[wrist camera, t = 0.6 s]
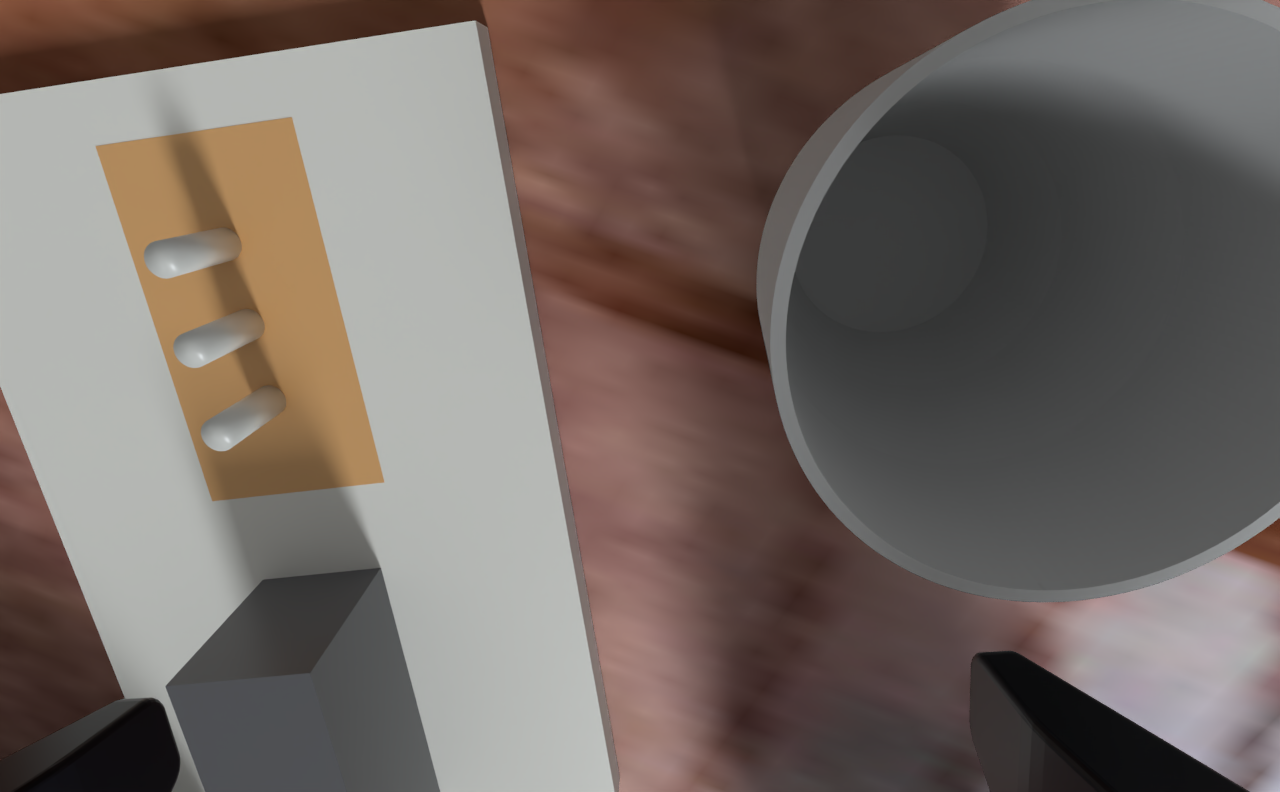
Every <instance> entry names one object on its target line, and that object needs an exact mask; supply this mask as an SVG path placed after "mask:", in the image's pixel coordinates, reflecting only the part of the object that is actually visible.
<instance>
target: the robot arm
mask: <svg viewBox="0 0 1280 792" xmlns="http://www.w3.org/2000/svg"><path fill="white" fill-rule="evenodd" d="M970 729H971V734H972V738H973V742H974V745H975V748H976V751H977V754H978V757H979V760H980V763H981V766H982V769H983V772H984V775H985V778H986V781H987V784H988V786H989V789H990V792H1249V791H1248V790H1246V789H1244V788H1243V787H1241V786H1239V785H1238V784H1236V783H1234V782H1233V781H1231V780H1229V779H1228V778H1226V777H1224V776H1223V775H1221V774H1219V773H1218V772H1216V771H1214V770H1213V769H1211V768H1209V767H1208V766H1206V765H1204V764H1203V763H1201V762H1199V761H1198V760H1196V759H1194V758H1193V757H1191V756H1189V755H1188V754H1186V753H1184V752H1183V751H1181V750H1179V749H1178V748H1176V747H1174V746H1173V745H1171V744H1169V743H1168V742H1166V741H1164V740H1163V739H1161V738H1159V737H1158V736H1156V735H1154V734H1153V733H1151V732H1149V731H1148V730H1146V729H1144V728H1142V727H1141V726H1139V725H1137V724H1136V723H1134V722H1132V721H1131V720H1129V719H1127V718H1126V717H1124V716H1122V715H1121V714H1119V713H1117V712H1116V711H1114V710H1112V709H1111V708H1109V707H1107V706H1106V705H1104V704H1102V703H1101V702H1099V701H1097V700H1096V699H1094V698H1092V697H1091V696H1089V695H1087V694H1086V693H1084V692H1082V691H1081V690H1079V689H1077V688H1076V687H1074V686H1072V685H1071V684H1069V683H1067V682H1066V681H1064V680H1062V679H1061V678H1059V677H1057V676H1056V675H1054V674H1052V673H1051V672H1049V671H1047V670H1046V669H1044V668H1042V667H1041V666H1039V665H1037V664H1036V663H1034V662H1032V661H1031V660H1029V659H1027V658H1025V657H1024V656H1022V655H1020V654H1018V653H1016V652H1013V651H998V652H981V653H977V654H976V655H975V656H974V657H973V659H972V663H971V679H970ZM180 764H181V762H180V754H179V750H178V747H177V744H176V741H175V738H174V735H173V732H172V729H171V725H170V722H169V719H168V716H167V713H166V710H165V708H164V705H163V704H162V703H161V702H160V701H159V700H158V699H155V698H152V697H149V698H130V699H121V700H117V701H115V702H113V703H111V704H109V705H107V706H105V707H103V708H101V709H99V710H97V711H95V712H93V713H91V714H89V715H87V716H86V717H84V718H82V719H80V720H78V721H76V722H74V723H72V724H70V725H68V726H66V727H64V728H62V729H60V730H58V731H56V732H55V733H53V734H51V735H49V736H47V737H45V738H43V739H41V740H39V741H37V742H35V743H33V744H31V745H29V746H27V747H26V748H24V749H22V750H20V751H18V752H16V753H14V754H12V755H10V756H8V757H6V758H4V759H2V760H0V792H172V790H173V788H174V786H175V783H176V781H177V779H178V775H179V772H180Z"/></svg>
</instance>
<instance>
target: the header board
mask: <svg viewBox="0 0 1280 792" xmlns="http://www.w3.org/2000/svg"><path fill="white" fill-rule="evenodd" d="M0 387H1V389H2V392H3V394H4V397H5V399H6V402H7V404H8V407H9V409H10V412H11V414H12V417H13V419H14V422H15V424H16V427H17V429H18V432H19V434H20V437H21V439H22V442H23V444H24V447H25V449H26V452H27V454H28V457H29V459H30V462H31V465H32V467H33V470H34V472H35V475H36V477H37V480H38V482H39V485H40V487H41V490H42V492H43V495H44V497H45V500H46V502H47V505H48V507H49V510H50V512H51V515H52V517H53V520H54V522H55V525H56V527H57V530H58V532H59V535H60V537H61V540H62V542H63V545H64V547H65V550H66V552H67V555H68V557H69V560H70V562H71V565H72V567H73V570H74V572H75V575H76V577H77V580H78V582H79V585H80V587H81V590H82V592H83V595H84V597H85V600H86V602H87V605H88V607H89V610H90V612H91V615H92V617H93V620H94V622H95V625H96V627H97V630H98V632H99V635H100V637H101V640H102V642H103V645H104V647H105V650H106V652H107V655H108V657H109V660H110V662H111V665H112V667H113V670H114V672H115V675H116V677H117V680H118V682H119V685H120V687H121V690H122V692H123V695H124V697H125V699H130V698H149V697H152V698H155V699H158V700H159V701H160V702H161V703H162V704H163V705H164V708H165V710H166V713H167V716H168V719H169V722H170V725H171V729H172V732H173V735H174V738H175V741H176V744H177V747H178V750H179V754H180V762H181V764H180V772H179V775H178V779H177V781H176V783H175V786H174V788H173V790H172V792H205V790H204V787H203V785H202V782H201V780H200V777H199V774H198V772H197V769H196V766H195V764H194V761H193V758H192V756H191V753H190V751H189V748H188V745H187V743H186V740H185V737H184V735H183V732H182V729H181V727H180V724H179V721H178V719H177V716H176V714H175V711H174V708H173V706H172V703H171V700H170V698H169V695H168V692H167V690H166V687H165V686H166V685H167V684H168V683H169V681H170V680H171V679H172V678H173V677H174V676H175V675H176V674H177V673H178V672H179V671H180V670H181V668H182V667H183V666H184V665H185V664H186V663H187V662H188V661H189V660H190V659H191V658H192V656H193V655H194V654H195V653H196V652H197V651H198V650H199V649H200V648H201V647H202V646H203V644H204V643H205V642H206V641H207V640H208V639H209V638H210V637H211V636H212V635H213V634H214V632H215V631H216V630H217V629H218V628H219V627H220V626H221V625H222V624H223V623H224V622H225V621H226V619H227V618H228V617H229V616H230V615H231V614H232V613H233V612H234V611H235V610H236V609H237V607H238V606H239V605H240V604H241V603H242V602H243V601H244V600H245V599H246V598H247V597H248V595H249V594H250V593H251V592H252V591H253V590H254V589H255V588H256V587H257V586H258V585H259V583H260V582H261V581H262V580H264V579H274V578H284V577H294V576H304V575H314V574H324V573H334V572H344V571H354V570H364V569H374V568H381V570H382V574H383V577H384V581H385V585H386V589H387V592H388V596H389V600H390V604H391V608H392V611H393V615H394V619H395V623H396V626H397V630H398V634H399V638H400V642H401V645H402V649H403V653H404V657H405V660H406V664H407V668H408V672H409V676H410V679H411V683H412V687H413V691H414V694H415V698H416V702H417V706H418V710H419V713H420V717H421V721H422V725H423V728H424V732H425V736H426V740H427V744H428V747H429V751H430V755H431V759H432V762H433V766H434V770H435V774H436V777H437V781H438V785H439V789H440V792H619V782H620V775H619V770H618V764H617V758H616V753H615V747H614V741H613V736H612V730H611V724H610V719H609V713H608V707H607V702H606V696H605V690H604V685H603V679H602V673H601V668H600V662H599V656H598V651H597V645H596V639H595V634H594V628H593V622H592V617H591V611H590V605H589V600H588V594H587V588H586V583H585V577H584V571H583V566H582V560H581V554H580V549H579V543H578V537H577V532H576V526H575V520H574V515H573V509H572V503H571V498H570V492H569V486H568V481H567V475H566V469H565V464H564V458H563V452H562V447H561V441H560V435H559V430H558V424H557V418H556V413H555V407H554V401H553V396H552V390H551V384H550V379H549V373H548V367H547V362H546V356H545V350H544V345H543V339H542V333H541V328H540V322H539V316H538V311H537V305H536V299H535V294H534V288H533V282H532V277H531V271H530V265H529V260H528V254H527V248H526V243H525V237H524V231H523V226H522V220H521V214H520V209H519V203H518V197H517V192H516V186H515V180H514V175H513V169H512V163H511V158H510V152H509V146H508V141H507V135H506V129H505V124H504V118H503V112H502V107H501V101H500V95H499V90H498V84H497V78H496V73H495V67H494V61H493V56H492V50H491V44H490V39H489V33H488V27H486V26H484V25H483V24H481V23H479V22H477V21H476V20H475V21H468V22H462V23H455V24H449V25H443V26H436V27H430V28H423V29H417V30H410V31H404V32H397V33H391V34H385V35H378V36H372V37H365V38H359V39H352V40H346V41H339V42H333V43H327V44H320V45H314V46H307V47H301V48H294V49H288V50H281V51H275V52H269V53H262V54H256V55H249V56H243V57H236V58H230V59H223V60H217V61H210V62H204V63H198V64H191V65H185V66H178V67H172V68H165V69H159V70H152V71H146V72H140V73H133V74H127V75H120V76H114V77H107V78H101V79H94V80H88V81H82V82H75V83H69V84H62V85H56V86H49V87H43V88H36V89H30V90H24V91H17V92H11V93H4V94H0Z"/></svg>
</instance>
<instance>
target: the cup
mask: <svg viewBox="0 0 1280 792" xmlns="http://www.w3.org/2000/svg"><path fill="white" fill-rule="evenodd" d="M756 288H757V304H758V313H759V319H760V324H761V329H762V334H763V339H764V344H765V348H766V353H767V358H768V363H769V367H770V372H771V377H772V382H773V386H774V391H775V396H776V401H777V405H778V409H779V413H780V416H781V420H782V423H783V426H784V429H785V432H786V435H787V437H788V440H789V442H790V445H791V447H792V449H793V452H794V454H795V456H796V458H797V460H798V462H799V464H800V466H801V468H802V470H803V471H804V473H805V475H806V477H807V478H808V480H809V481H810V483H811V484H812V486H813V488H814V489H815V490H816V492H817V493H818V495H819V496H820V497H821V499H822V500H823V501H824V503H825V504H826V505H827V506H828V508H829V509H830V510H831V511H832V512H833V513H834V514H835V516H836V517H837V518H838V519H839V520H840V521H841V522H842V523H843V524H844V525H845V526H846V527H847V528H848V529H849V530H850V531H851V532H853V533H854V534H855V535H856V536H857V537H858V538H859V539H861V540H862V541H863V542H864V543H865V544H867V545H868V546H869V547H871V548H872V549H873V550H875V551H876V552H878V553H879V554H881V555H882V556H884V557H885V558H887V559H888V560H890V561H892V562H893V563H895V564H897V565H898V566H900V567H902V568H904V569H906V570H908V571H909V572H912V573H914V574H916V575H918V576H920V577H922V578H925V579H927V580H929V581H932V582H934V583H937V584H940V585H943V586H945V587H949V588H952V589H955V590H958V591H962V592H966V593H970V594H974V595H979V596H983V597H989V598H995V599H1002V600H1011V601H1023V602H1066V601H1078V600H1087V599H1094V598H1101V597H1106V596H1112V595H1116V594H1121V593H1126V592H1130V591H1133V590H1137V589H1141V588H1144V587H1148V586H1151V585H1154V584H1157V583H1160V582H1163V581H1166V580H1169V579H1171V578H1174V577H1177V576H1179V575H1182V574H1184V573H1186V572H1189V571H1191V570H1193V569H1196V568H1198V567H1200V566H1202V565H1204V564H1206V563H1208V562H1210V561H1212V560H1214V559H1216V558H1218V557H1220V556H1222V555H1224V554H1226V553H1227V552H1229V551H1231V550H1233V549H1234V548H1236V547H1238V546H1239V545H1241V544H1242V543H1244V542H1246V541H1247V540H1249V539H1250V538H1252V537H1253V536H1255V535H1256V534H1258V533H1259V532H1261V531H1262V530H1264V529H1265V528H1266V527H1268V526H1269V525H1270V524H1272V523H1273V522H1274V521H1276V520H1277V519H1278V518H1280V8H1279V7H1276V6H1274V5H1272V4H1269V3H1267V2H1265V1H1262V0H1031V1H1028V2H1025V3H1023V4H1020V5H1017V6H1015V7H1013V8H1010V9H1008V10H1005V11H1003V12H1001V13H998V14H996V15H994V16H992V17H990V18H988V19H986V20H984V21H982V22H980V23H978V24H976V25H974V26H972V27H970V28H969V29H967V30H965V31H963V32H961V33H959V34H958V35H956V36H954V37H952V38H950V39H949V40H947V41H945V42H943V43H941V44H940V45H938V46H936V47H934V48H932V49H931V50H929V51H927V52H925V53H923V54H922V55H920V56H918V57H916V58H914V59H912V60H911V61H909V62H907V63H905V64H903V65H902V66H900V67H898V68H896V69H894V70H893V71H891V72H889V73H887V74H885V75H884V76H882V77H880V78H879V79H877V80H875V81H874V82H872V83H871V84H869V85H868V86H866V87H865V88H863V89H862V90H860V91H859V92H858V93H856V94H855V95H854V96H852V97H851V98H850V99H849V100H847V101H846V102H845V103H844V104H843V105H842V106H840V107H839V108H838V109H837V110H836V111H835V112H834V113H833V114H832V115H831V116H830V117H829V118H828V119H827V120H826V121H825V122H824V123H823V124H822V125H821V126H820V127H819V128H818V129H817V131H816V132H815V133H814V134H813V135H812V136H811V138H810V139H809V140H808V142H807V143H806V144H805V145H804V147H803V148H802V150H801V151H800V152H799V154H798V155H797V157H796V158H795V160H794V161H793V163H792V165H791V166H790V168H789V170H788V171H787V173H786V175H785V177H784V179H783V181H782V182H781V184H780V187H779V189H778V191H777V193H776V195H775V198H774V200H773V202H772V205H771V208H770V211H769V213H768V216H767V220H766V223H765V226H764V230H763V234H762V239H761V243H760V249H759V255H758V264H757V285H756Z"/></svg>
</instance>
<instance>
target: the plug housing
mask: <svg viewBox="0 0 1280 792" xmlns="http://www.w3.org/2000/svg"><path fill="white" fill-rule="evenodd" d="M165 687H166V690H167V692H168V695H169V698H170V700H171V703H172V706H173V708H174V711H175V714H176V716H177V719H178V721H179V724H180V727H181V729H182V732H183V735H184V737H185V740H186V743H187V745H188V748H189V751H190V753H191V756H192V758H193V761H194V764H195V766H196V769H197V772H198V774H199V777H200V780H201V782H202V785H203V787H204V790H205V792H440V789H439V785H438V781H437V777H436V774H435V770H434V766H433V762H432V759H431V755H430V751H429V747H428V744H427V740H426V736H425V732H424V728H423V725H422V721H421V717H420V713H419V710H418V706H417V702H416V698H415V694H414V691H413V687H412V683H411V679H410V676H409V672H408V668H407V664H406V660H405V657H404V653H403V649H402V645H401V642H400V638H399V634H398V630H397V626H396V623H395V619H394V615H393V611H392V608H391V604H390V600H389V596H388V592H387V589H386V585H385V581H384V577H383V574H382V570H381V568H374V569H364V570H354V571H344V572H334V573H324V574H314V575H304V576H294V577H284V578H274V579H264V580H262V581H261V582H260V583H259V585H258V586H257V587H256V588H255V589H254V590H253V591H252V592H251V593H250V594H249V595H248V597H247V598H246V599H245V600H244V601H243V602H242V603H241V604H240V605H239V606H238V607H237V609H236V610H235V611H234V612H233V613H232V614H231V615H230V616H229V617H228V618H227V619H226V621H225V622H224V623H223V624H222V625H221V626H220V627H219V628H218V629H217V630H216V631H215V632H214V634H213V635H212V636H211V637H210V638H209V639H208V640H207V641H206V642H205V643H204V644H203V646H202V647H201V648H200V649H199V650H198V651H197V652H196V653H195V654H194V655H193V656H192V658H191V659H190V660H189V661H188V662H187V663H186V664H185V665H184V666H183V667H182V668H181V670H180V671H179V672H178V673H177V674H176V675H175V676H174V677H173V678H172V679H171V680H170V681H169V683H168V684H167V685H166V686H165Z"/></svg>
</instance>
